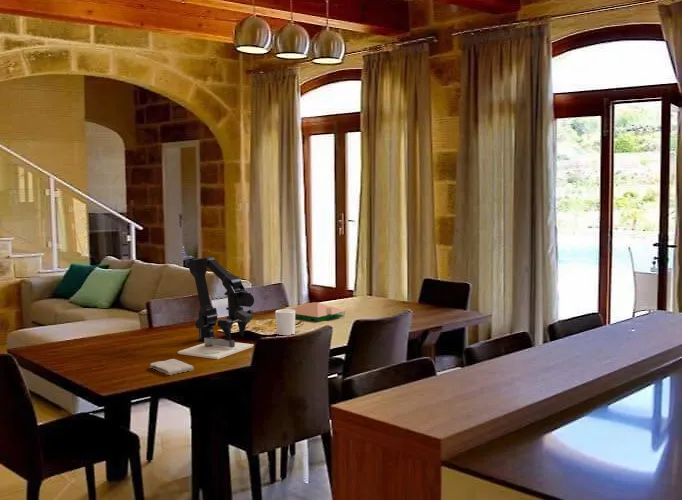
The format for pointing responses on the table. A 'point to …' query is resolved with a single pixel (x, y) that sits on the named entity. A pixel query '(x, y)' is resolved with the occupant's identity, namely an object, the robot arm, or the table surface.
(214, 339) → the tuner lever
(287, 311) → the candle holder
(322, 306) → the house
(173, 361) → the washcloth
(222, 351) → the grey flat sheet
